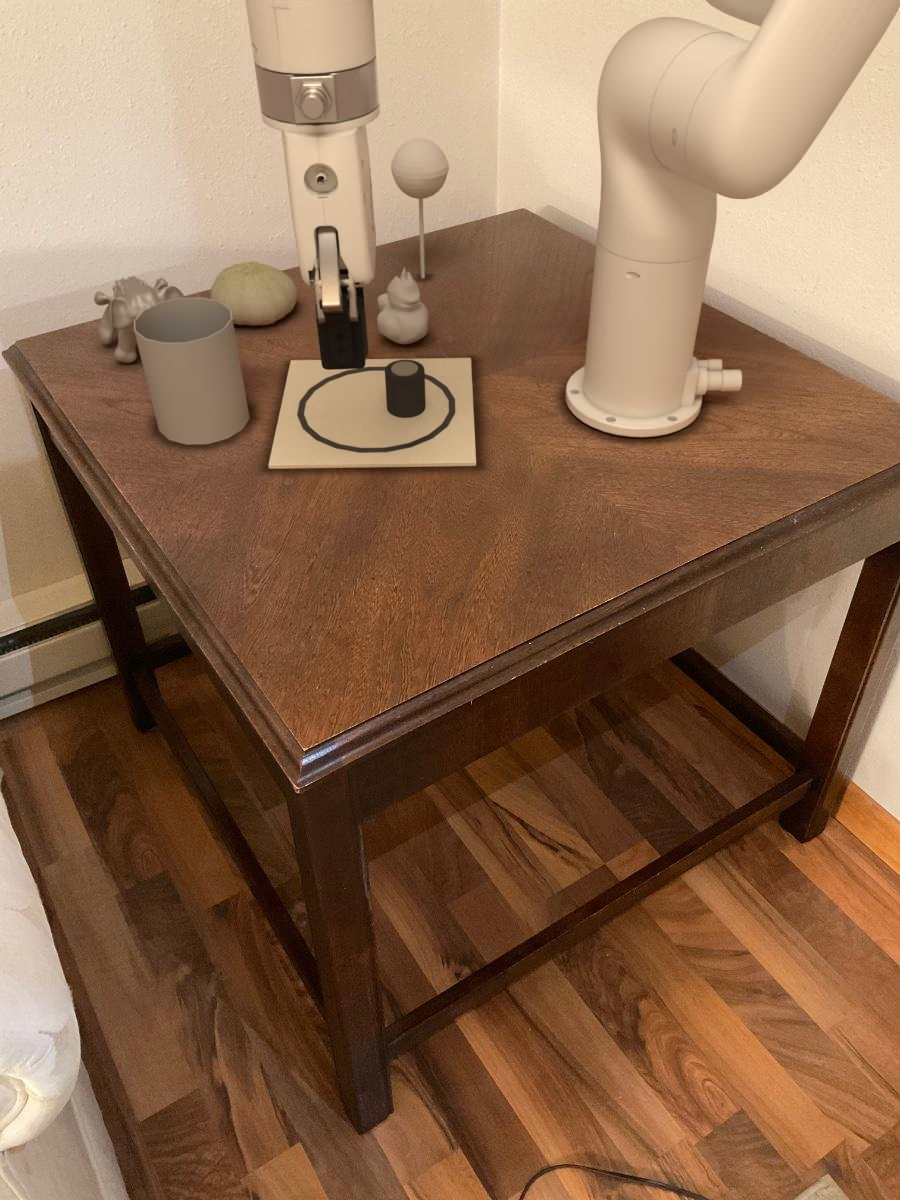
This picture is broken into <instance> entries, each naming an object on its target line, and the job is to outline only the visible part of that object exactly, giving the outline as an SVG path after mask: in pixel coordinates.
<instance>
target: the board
mask: <svg viewBox="0 0 900 1200" xmlns="http://www.w3.org/2000/svg"><path fill="white" fill-rule="evenodd" d="M365 360H366V361H365V367H364V368H361V369H336V370H326V369H324V368H323V367H322V363H321V359H292V360H291V359H290V363H289V366H288V367H289V368H288V372H287V377H286V380H285V381H286V382H285V386H284V389H283V390H284V391H283V395H282V399H281V404H280V409H279V413H278V419H277V422H276V423H277V424H276V428H275V433H274V438H273V442H272V446H271V451H270V455H269V461H268V469H269V470H276V469H277V470H279V469H289V470H291V469H348V468H349V469H351V468H352V469H353V468H354V469H357V468H360V469H361V468H424V467H425V468H429V467H432V468H433V467H434V468H435V467H476V466H477V449H476V433H475V432H476V430H475V429H476V428H475V412H474V410H475V409H474V391H473V390H474V389H473V371H472V369H473V368H472V358H471V357H438V358H437V357H435V358H434V357H432V358H431V357H430V358H429V357H428V358H427V357H425V358H424V357H423V358H422V357H421V358H365ZM398 360H413V361H417V362H419V363H421V364H422V365H423V367H424V370H425V402H426V408H425V410H424V412H423V413H421V414H420V415H418V416H415V417H411V418H400V417H396V416H393V415H392V414H390V413H389V412H388V410H387V400H386V384H385V368H386V366H387V365H388V364H390V363H392V362H394V361H398Z"/></svg>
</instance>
